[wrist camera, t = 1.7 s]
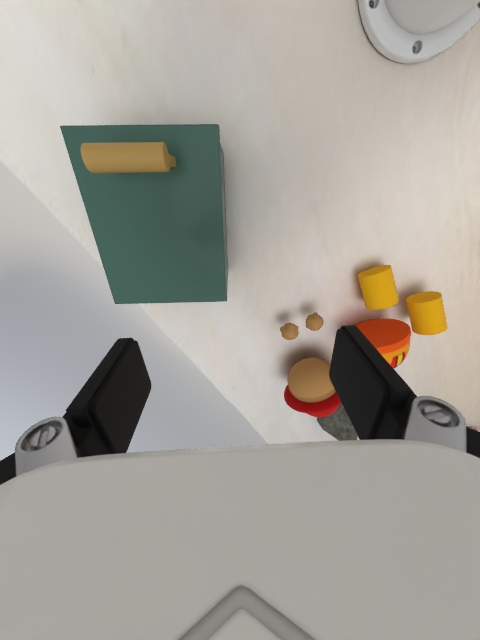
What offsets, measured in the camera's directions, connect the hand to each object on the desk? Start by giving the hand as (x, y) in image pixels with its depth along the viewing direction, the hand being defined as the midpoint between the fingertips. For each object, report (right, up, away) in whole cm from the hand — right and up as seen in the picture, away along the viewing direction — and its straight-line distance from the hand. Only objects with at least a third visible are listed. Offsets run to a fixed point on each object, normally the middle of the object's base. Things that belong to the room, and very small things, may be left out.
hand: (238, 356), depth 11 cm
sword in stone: (+20, -18, +38) cm, 46 cm away
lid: (-7, +10, +10) cm, 16 cm away
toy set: (+17, 0, +27) cm, 32 cm away
